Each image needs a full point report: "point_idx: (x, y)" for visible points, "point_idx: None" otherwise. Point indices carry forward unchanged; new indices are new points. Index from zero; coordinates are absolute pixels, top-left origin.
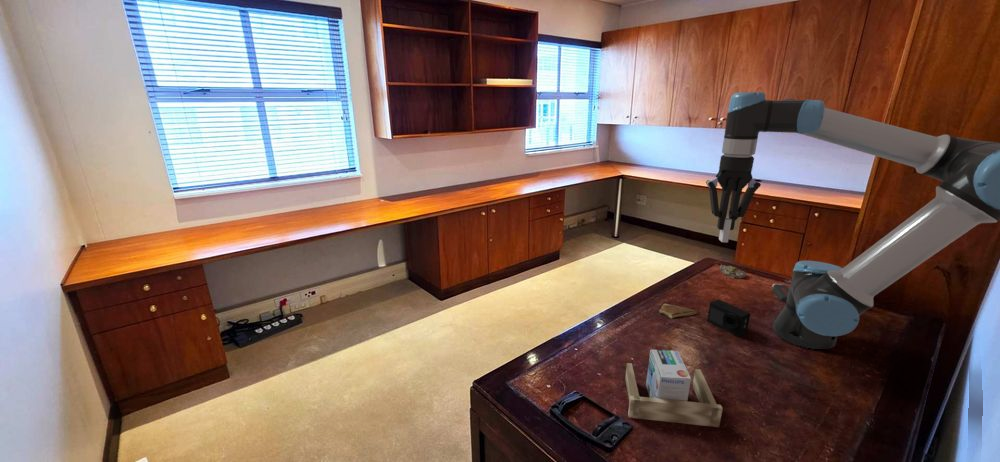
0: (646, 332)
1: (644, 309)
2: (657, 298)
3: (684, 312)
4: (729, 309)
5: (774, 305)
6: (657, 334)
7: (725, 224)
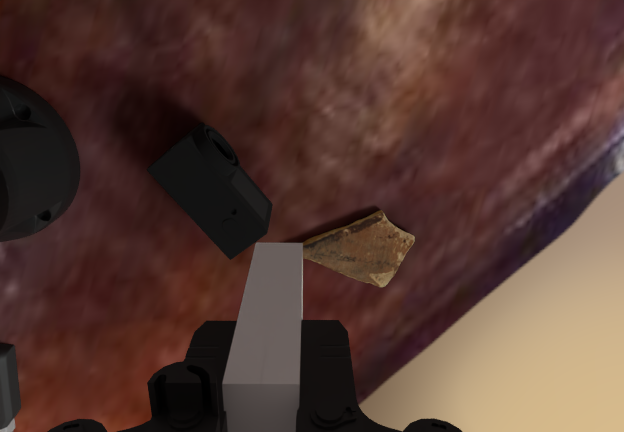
0: (491, 110)
1: (453, 253)
2: (390, 325)
3: (336, 236)
4: (213, 188)
5: (36, 324)
6: (458, 102)
7: (294, 340)
